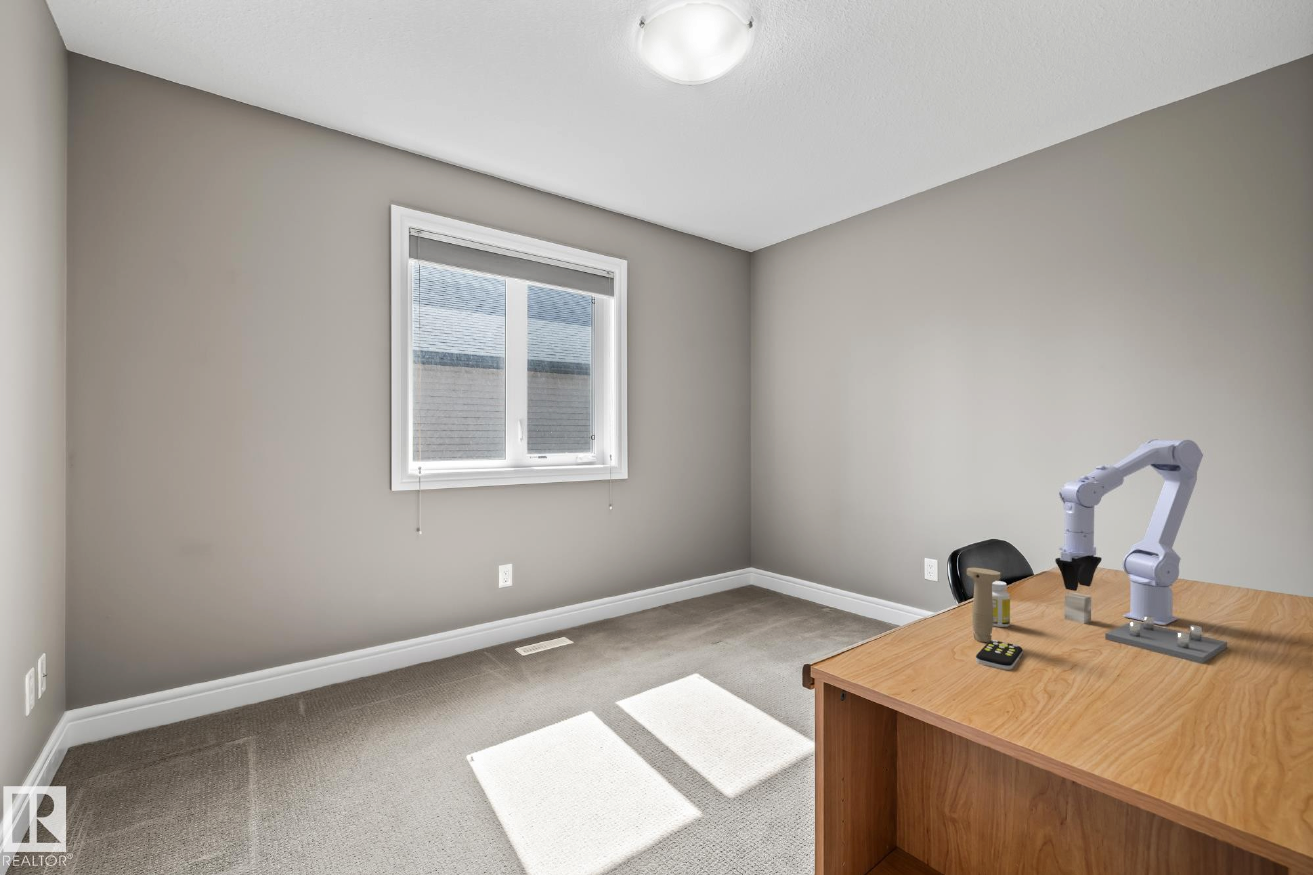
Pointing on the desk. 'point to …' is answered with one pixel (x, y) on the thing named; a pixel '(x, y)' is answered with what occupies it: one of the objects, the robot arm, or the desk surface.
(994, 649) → the remote control
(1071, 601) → the cream block
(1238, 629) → the desk surface
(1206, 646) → the peg board
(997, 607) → the supplement bottle
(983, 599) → the handle
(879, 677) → the desk surface
